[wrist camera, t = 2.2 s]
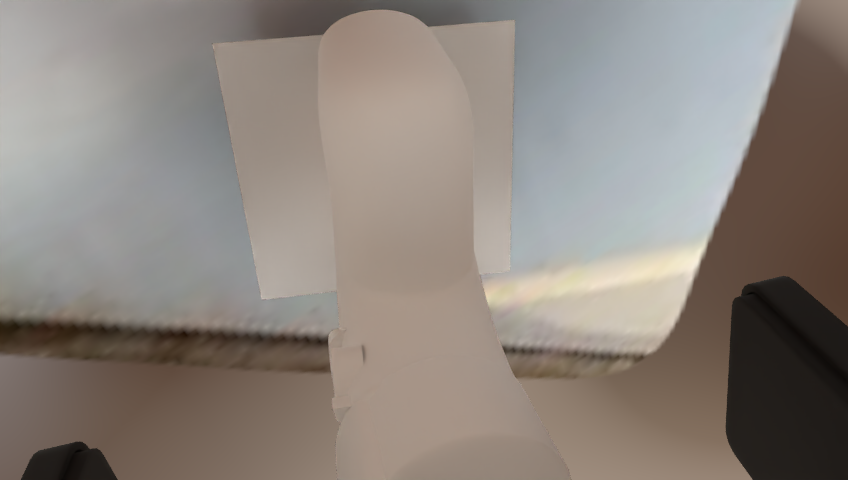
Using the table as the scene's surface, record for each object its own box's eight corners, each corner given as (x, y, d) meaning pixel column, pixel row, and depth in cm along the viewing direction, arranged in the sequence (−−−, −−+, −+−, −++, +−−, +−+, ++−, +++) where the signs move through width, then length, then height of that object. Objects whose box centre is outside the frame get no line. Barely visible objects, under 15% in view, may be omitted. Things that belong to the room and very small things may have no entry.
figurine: (482, -48, 19) (825, 150, 7) (483, 243, 24) (684, 695, 11) (220, -30, 19) (21, 232, 6) (273, 266, 23) (228, 780, 10)
